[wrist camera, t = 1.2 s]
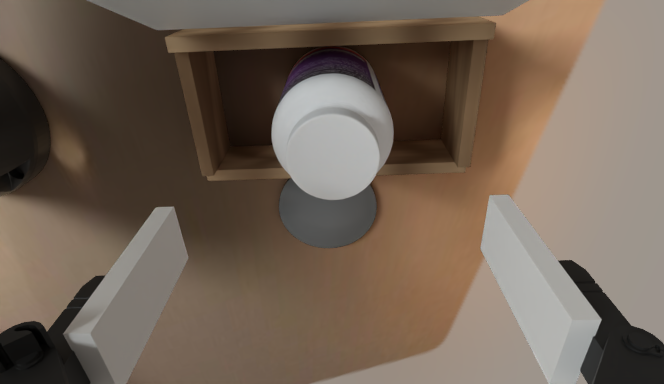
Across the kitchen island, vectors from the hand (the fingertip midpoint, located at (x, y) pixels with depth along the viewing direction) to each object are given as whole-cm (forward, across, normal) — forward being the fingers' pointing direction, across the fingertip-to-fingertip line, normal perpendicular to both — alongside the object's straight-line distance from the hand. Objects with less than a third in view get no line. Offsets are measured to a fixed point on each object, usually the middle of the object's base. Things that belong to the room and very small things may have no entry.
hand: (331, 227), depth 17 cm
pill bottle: (+22, 0, 0) cm, 22 cm away
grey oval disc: (+21, -1, -12) cm, 25 cm away
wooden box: (+21, 0, 0) cm, 21 cm away
